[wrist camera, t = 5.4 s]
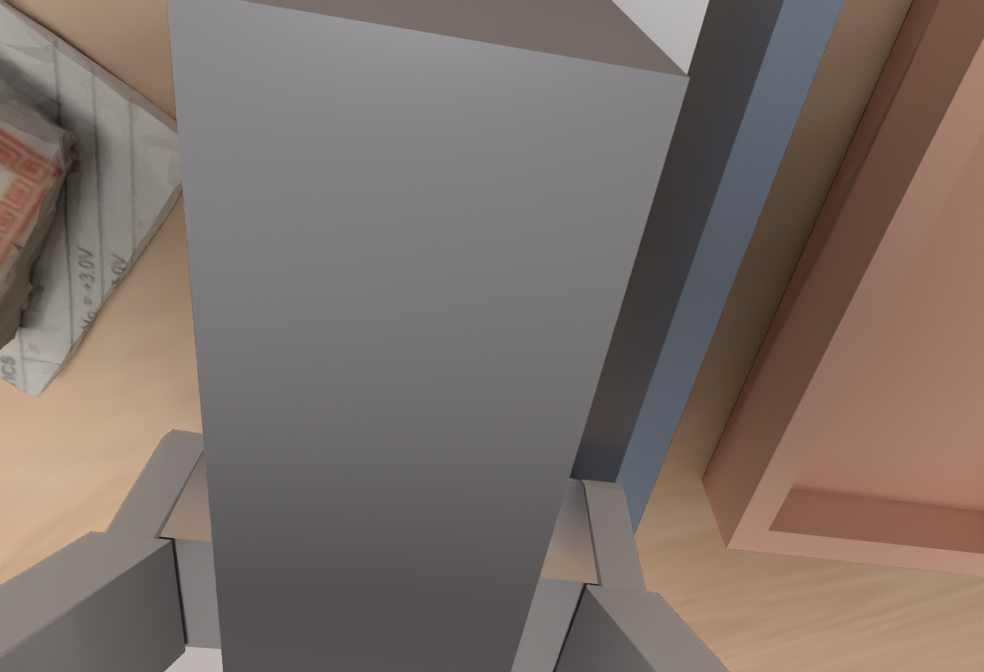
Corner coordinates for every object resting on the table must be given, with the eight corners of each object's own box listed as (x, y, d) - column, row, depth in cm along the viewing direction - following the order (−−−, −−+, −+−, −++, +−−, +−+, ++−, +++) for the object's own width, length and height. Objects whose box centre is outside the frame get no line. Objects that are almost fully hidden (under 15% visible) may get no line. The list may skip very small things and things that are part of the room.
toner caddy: (632, -51, 14) (1021, 133, 4) (521, 420, 20) (548, 960, 10) (323, -107, 13) (-243, -83, 3) (311, 393, 20) (114, 932, 10)
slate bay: (810, -219, 14) (948, -265, 10) (591, 467, 24) (612, 589, 20) (201, -349, 13) (65, -460, 9) (238, 427, 23) (182, 547, 19)
